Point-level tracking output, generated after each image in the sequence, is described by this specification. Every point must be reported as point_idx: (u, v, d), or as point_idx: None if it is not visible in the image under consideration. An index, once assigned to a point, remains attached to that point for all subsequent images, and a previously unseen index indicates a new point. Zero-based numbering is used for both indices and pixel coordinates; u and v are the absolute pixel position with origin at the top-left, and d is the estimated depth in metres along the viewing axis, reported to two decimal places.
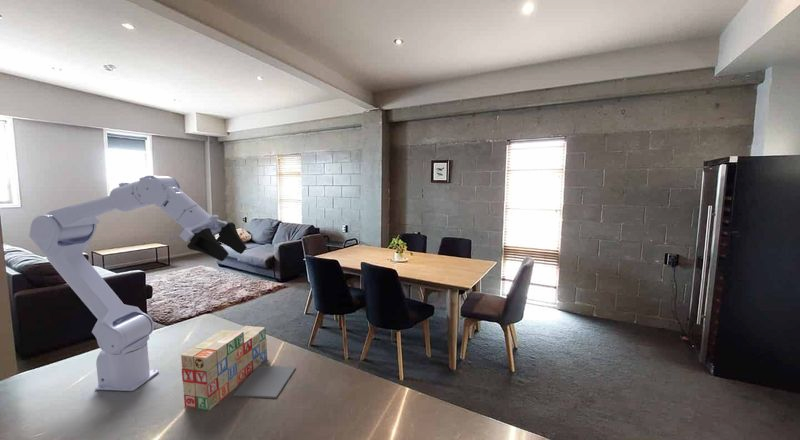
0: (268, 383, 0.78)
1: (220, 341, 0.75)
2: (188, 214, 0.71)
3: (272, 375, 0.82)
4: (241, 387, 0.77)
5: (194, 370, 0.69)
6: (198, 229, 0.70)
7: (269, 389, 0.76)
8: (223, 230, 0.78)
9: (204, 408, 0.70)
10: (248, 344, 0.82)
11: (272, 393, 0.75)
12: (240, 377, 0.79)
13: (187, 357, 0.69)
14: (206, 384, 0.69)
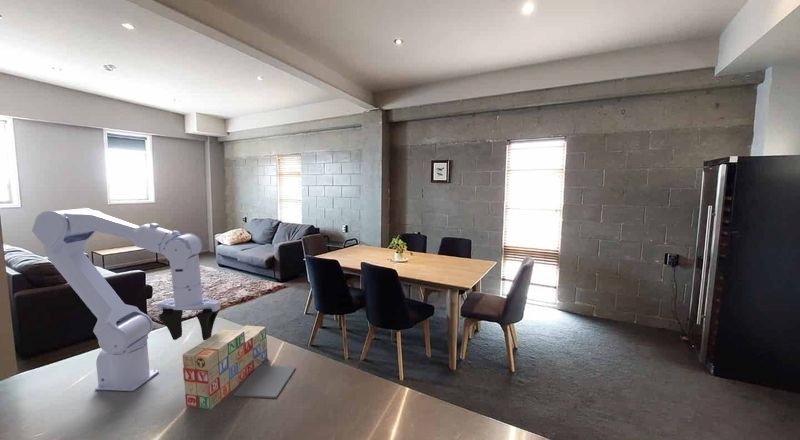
0: (268, 383, 0.78)
1: (221, 340, 0.75)
2: None
3: (272, 375, 0.82)
4: (241, 387, 0.77)
5: (196, 369, 0.69)
6: None
7: (269, 389, 0.76)
8: (176, 310, 0.80)
9: (205, 407, 0.70)
10: (248, 344, 0.82)
11: (272, 393, 0.75)
12: (241, 376, 0.80)
13: (188, 356, 0.69)
14: (207, 383, 0.69)
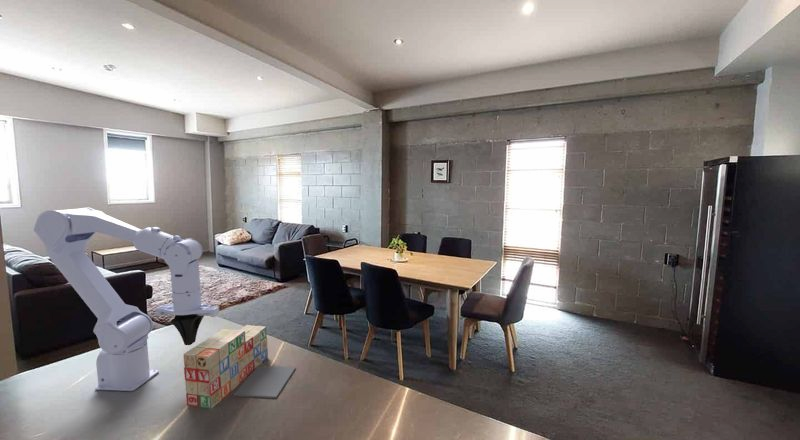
0: (268, 383, 0.78)
1: (222, 340, 0.76)
2: (200, 291, 0.80)
3: (272, 375, 0.82)
4: (241, 387, 0.77)
5: (197, 369, 0.69)
6: None
7: (269, 389, 0.76)
8: None
9: (206, 407, 0.70)
10: (249, 343, 0.82)
11: (272, 393, 0.75)
12: (242, 376, 0.80)
13: (189, 356, 0.69)
14: (208, 383, 0.69)
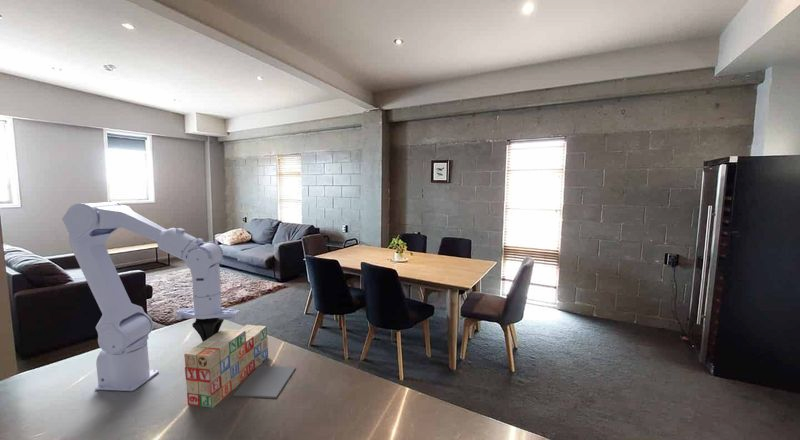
0: (268, 383, 0.78)
1: (222, 340, 0.76)
2: (220, 295, 0.79)
3: (272, 375, 0.82)
4: (241, 387, 0.77)
5: (198, 368, 0.70)
6: None
7: (269, 389, 0.76)
8: None
9: (207, 406, 0.70)
10: (250, 343, 0.83)
11: (272, 393, 0.75)
12: (242, 375, 0.80)
13: (190, 355, 0.70)
14: (209, 382, 0.70)
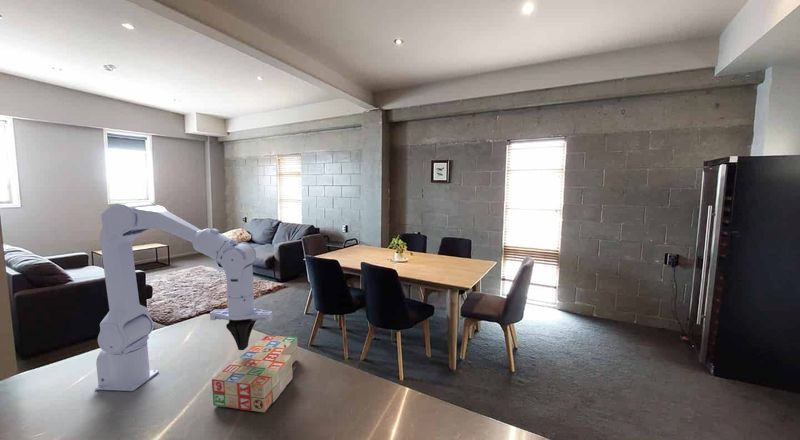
0: None
1: (281, 384, 0.75)
2: (253, 296, 0.79)
3: None
4: None
5: (250, 398, 0.68)
6: None
7: None
8: (242, 320, 0.79)
9: (214, 400, 0.70)
10: None
11: None
12: None
13: (262, 392, 0.68)
14: (238, 408, 0.69)
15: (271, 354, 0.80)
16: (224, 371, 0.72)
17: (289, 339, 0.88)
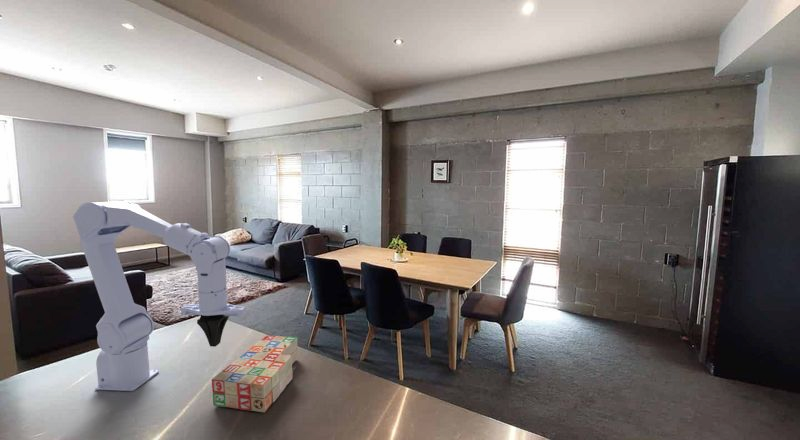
0: None
1: (281, 384, 0.75)
2: (226, 291, 0.77)
3: None
4: None
5: (250, 398, 0.68)
6: None
7: None
8: None
9: (214, 400, 0.70)
10: None
11: None
12: None
13: (262, 392, 0.68)
14: (238, 408, 0.69)
15: (271, 354, 0.80)
16: (224, 371, 0.72)
17: (289, 339, 0.88)
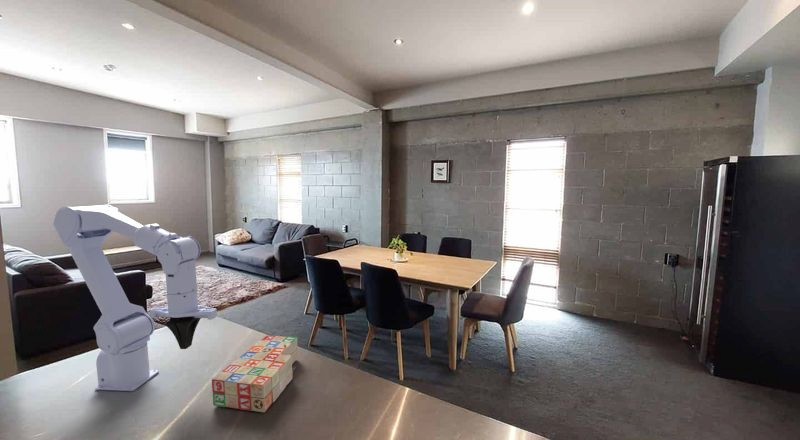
0: None
1: (281, 384, 0.75)
2: (196, 292, 0.75)
3: None
4: None
5: (250, 398, 0.68)
6: None
7: None
8: None
9: (214, 400, 0.70)
10: None
11: None
12: None
13: (262, 392, 0.68)
14: (238, 408, 0.69)
15: (271, 354, 0.80)
16: (224, 371, 0.72)
17: (289, 339, 0.88)
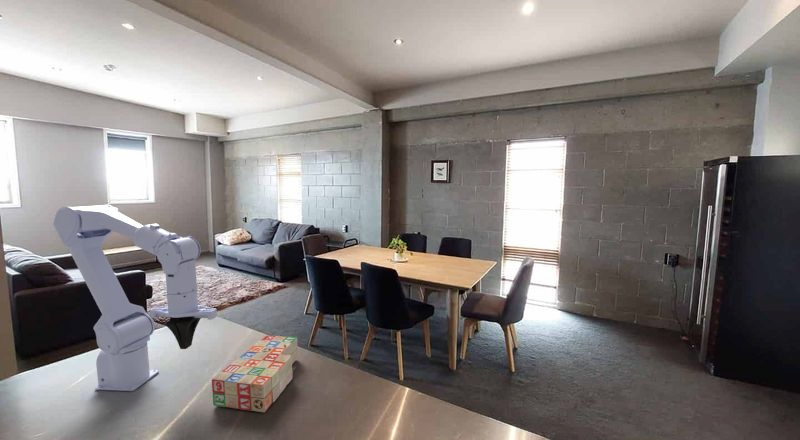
0: None
1: (281, 384, 0.75)
2: (196, 292, 0.75)
3: None
4: None
5: (250, 398, 0.68)
6: None
7: None
8: None
9: (214, 400, 0.70)
10: None
11: None
12: None
13: (262, 392, 0.68)
14: (238, 408, 0.69)
15: (271, 354, 0.80)
16: (224, 371, 0.72)
17: (289, 339, 0.88)
